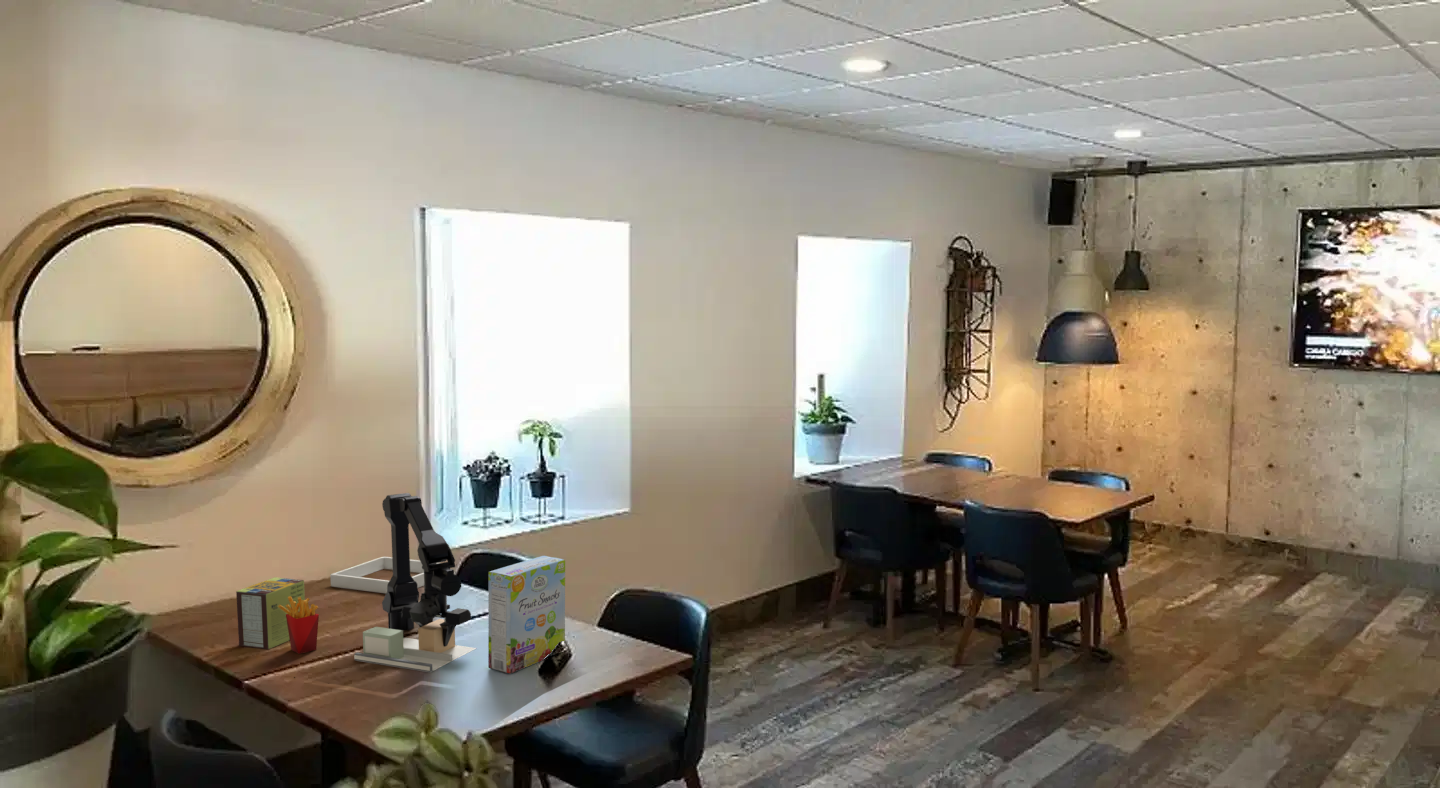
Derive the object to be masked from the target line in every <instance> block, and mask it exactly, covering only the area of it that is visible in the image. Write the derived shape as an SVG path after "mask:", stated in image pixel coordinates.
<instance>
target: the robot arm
mask: <svg viewBox="0 0 1440 788" xmlns="http://www.w3.org/2000/svg"><path fill="white" fill-rule="evenodd" d="M381 504H382V509H383V513H384V518H385V519H386V520H387V521H388V523H389V524H390V530H391V531H390V533H391V534H390V535H391V557H392V563H393V570H392V576H391V578H390V579H389V580H388V581H389V583H388V585H387V593H385V595H384V598H383V600H382V602H381V605H382V610H383V612H386V613H387V620H388V623H387V624H388V627H387V628H389V629H396V630H403V631H411V630H412V629H414V628H415V624H416V625H418V628H420V627H422V626H424V625H427V624H429V623H431V622H433V621H434V618H438V619H444V622H443V623H441V624H440V626H441V627H442V629H443V645H444V646H447V645H448V642H449V640H450V638H451V635H452V633H453V631H454V629H455V630H456V627H457V626H459V625H462V624H465V623H466V622H469V621H470V620H472V614H471V611H470V610H469V609H467V608H460V607H459V608H458V607H457V608H455V609H453V610H451V611H449V609H451V605H450V604H448V602H447V601H448V599H447V598H448V597H454V596H455V595H457V594H458V593H459V592H460V591H461V588H462V581H461V578H460V577H459V576H458V575H456V574H455V571H454V569H453V568H456V564H455V563H456V559H455V556H454V554H453V552H452V550H451V547H450V545H449V543H447V541H446V539H445V538H444V536H443V535H441V534H440V533H438V532H436V531H435V529H434V527H433V525H432V523H431V522H430V519H429V517H428V515H427V514H426V511H425V509H424V507H423V505H422V498H421V497H420V496H418V495H411V494H410V492H405V493H403V492H402V493H396V494H388V495H386V496H385V498H384V499H383V500H382V503H381ZM409 525H410V527H411V529H412V531H413V533H414V535H415V538H416V539H417V541H418V547H417V555H418V560H419V561H421V563H422V565H423V566H422V569H424V586H423V589H424V592H421V593H420V592H419V588H417V582H416V581H414V580H413V578H412V577H413V576H411V572H410V560H411V556H410V532H409V531H410V530H409V529H410V528H409ZM436 563H438V564H436ZM420 594H421V595H420ZM419 599H420V601H419Z"/></svg>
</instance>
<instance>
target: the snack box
mask: <svg viewBox="0 0 1440 788" xmlns="http://www.w3.org/2000/svg"><path fill="white" fill-rule="evenodd" d="M487 576H488V587H487V588H488V593H487V594H488V598H487V599H488V609H487V610H488V635H487V637H488V642H487V643H488V646H487V647H488V656H487V657H488V665H487V666H488V668H489V669H492V670H496V671H499V672H500V673H501V672H502V673H504V674H505V673H506V674H510V675H511V674H513V673H516V672H518V671H520V670H523V669H525V667H526V668H528V667H530V666H532V664H533V665H535V664H537V662H538V663H539V662H542V661H544V660H543V659H544V658H545V657H546V656H547V655H548V654H550V653H551V652H552V650H553V649H554V648H555V646H556V645H557V644H558V643H559V642H561V641H565V642H566V560H565V559H564V558H560V557H552V556H547V555H541V556H537V557H535V558H531V559H528V560H523V561H521V562H517V563H513V564H510V565H507V566H503V567H500V568H497V569H494V570H491V571H488V575H487Z"/></svg>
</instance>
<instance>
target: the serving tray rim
mask: <svg viewBox="0 0 1440 788" xmlns="http://www.w3.org/2000/svg"><path fill="white" fill-rule="evenodd" d="M436 564H438V563H436ZM422 566H423V565H422V563H421V561H420V559H418V560H417V559H410V573H417V574H416V575H412V576H411V577H412V578H413V580H414V581H416V582H417V589H419V588H421V587H424V569H422ZM383 569H384V570H391V571H393V563H392V556H391V557H390V556H381V557H378V558H374V559H372V560H369V561H365V562H363V563H360V564H357V565H355V566H352V567H349V568H345V569H342V570H340V571H337V572H333V573H331V574H330V575H329V576H330V587H333V588H339V589H340V588H341V589H348V590H355V591H357V590H358V591H365V592H370V593H371V592H372V593H381V594H386V593H387V585H388V583H389V581H390V580H387V579H378V578H372V577H364V576H368V575H370V574H373V573H376V572H378V571H382V570H383Z"/></svg>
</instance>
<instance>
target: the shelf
mask: <svg viewBox="0 0 1440 788" xmlns="http://www.w3.org/2000/svg"><path fill="white" fill-rule="evenodd" d="M403 647H404V657H401V658H399V659H397V658H390V657H384V656H378V655H371V654H365V653H363V652H359V651H358V652H355V653H353V654H354V661H357V662H363V663H369V664H375V665H381V666H387V667H395V668H400V669H408V670H413V671H418V672H419V671H420V672H423V673H425V672H426V673H432V672H433V671H435V670H438V669H439V668H441V667H444V666H446V665H447V664H449V663H451V662H454V661H455V660H458V659H459V658H461V657H462V656H465V655H467V654H469V653H471V652H472V651H475V650H476V649H477V647H471V646H465V645H464V646H463V645H458V644H457V645H456V644H455V646H454V647H452V648H450V649H448V650H446V651H444V652H442V653H438V652H431V651H424V650H419V640H418V638H409V637H403Z"/></svg>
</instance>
